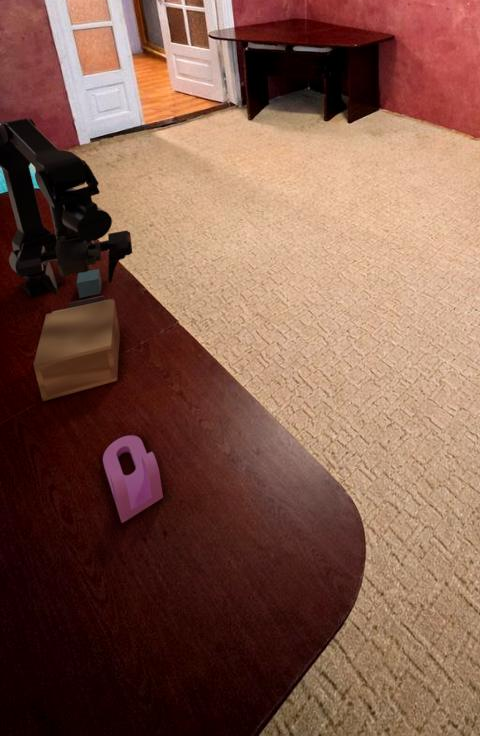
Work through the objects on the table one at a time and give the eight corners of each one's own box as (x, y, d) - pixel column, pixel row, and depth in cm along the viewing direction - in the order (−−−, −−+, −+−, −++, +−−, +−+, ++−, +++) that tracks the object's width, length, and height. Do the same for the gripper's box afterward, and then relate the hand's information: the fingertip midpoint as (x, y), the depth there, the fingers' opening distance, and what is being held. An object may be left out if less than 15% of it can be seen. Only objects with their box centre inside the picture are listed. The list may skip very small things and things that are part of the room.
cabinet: (54, 348, 97) (46, 314, 94) (119, 332, 102) (114, 299, 99) (42, 401, 86) (33, 364, 83) (117, 380, 91) (110, 345, 88)
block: (81, 287, 115) (78, 272, 113) (101, 283, 117) (99, 268, 115) (79, 298, 111) (76, 283, 110) (100, 293, 113) (97, 278, 112)
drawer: (61, 323, 102) (55, 297, 100) (117, 311, 107) (113, 285, 105) (48, 384, 88) (41, 355, 86) (113, 367, 93) (108, 339, 90)
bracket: (163, 497, 72) (158, 464, 70) (121, 523, 69) (115, 489, 66) (138, 435, 81) (133, 404, 79) (100, 455, 78) (93, 423, 75)
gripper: (2, 253, 81) (21, 327, 87) (128, 230, 90) (138, 298, 96) (12, 222, 90) (28, 291, 95) (126, 204, 99) (135, 267, 105)
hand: (83, 287), depth 98 cm, fingers open, 9 cm apart
